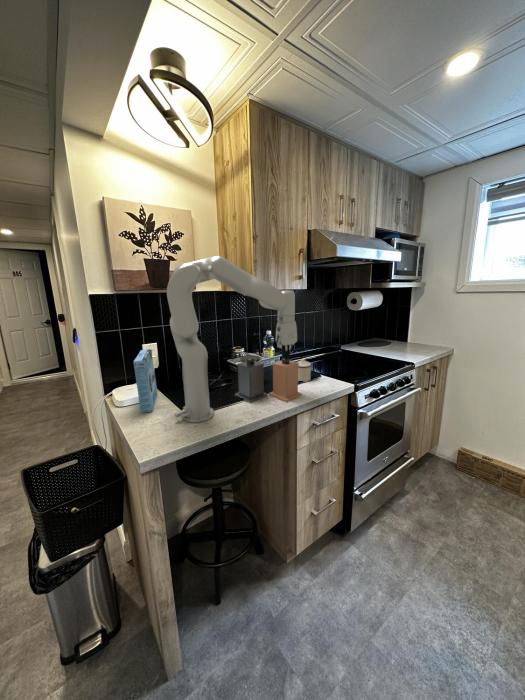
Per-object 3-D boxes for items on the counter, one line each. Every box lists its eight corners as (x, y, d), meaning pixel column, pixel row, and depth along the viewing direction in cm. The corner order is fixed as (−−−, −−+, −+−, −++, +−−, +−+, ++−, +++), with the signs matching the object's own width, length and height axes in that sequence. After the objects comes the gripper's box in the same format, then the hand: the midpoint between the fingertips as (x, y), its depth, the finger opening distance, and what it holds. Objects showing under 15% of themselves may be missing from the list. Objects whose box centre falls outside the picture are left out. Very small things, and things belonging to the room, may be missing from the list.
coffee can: (243, 379, 152) (242, 354, 148) (261, 379, 151) (261, 355, 147) (239, 386, 142) (238, 360, 138) (259, 386, 141) (258, 360, 137)
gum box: (152, 412, 115) (146, 360, 109) (139, 413, 114) (132, 361, 108) (157, 393, 134) (152, 348, 128) (146, 395, 132) (140, 349, 126)
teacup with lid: (314, 380, 148) (315, 360, 145) (300, 383, 144) (301, 362, 141) (301, 374, 159) (301, 354, 156) (288, 376, 155) (288, 357, 152)
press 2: (286, 402, 122) (286, 368, 118) (266, 394, 131) (266, 362, 127) (301, 395, 130) (302, 363, 126) (282, 388, 139) (282, 357, 134)
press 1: (250, 403, 122) (249, 369, 118) (233, 395, 131) (231, 363, 127) (267, 395, 130) (267, 363, 125) (250, 388, 138) (249, 358, 134)
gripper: (280, 321, 113) (280, 363, 118) (303, 317, 123) (302, 356, 128) (268, 320, 118) (268, 360, 123) (290, 316, 128) (290, 353, 133)
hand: (286, 358), depth 125 cm, fingers closed
